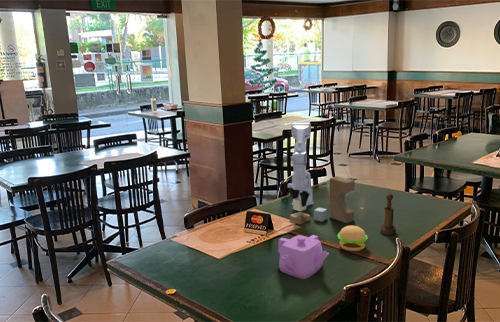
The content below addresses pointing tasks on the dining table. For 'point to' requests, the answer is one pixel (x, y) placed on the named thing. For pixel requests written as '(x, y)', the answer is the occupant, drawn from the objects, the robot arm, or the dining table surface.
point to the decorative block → (340, 199)
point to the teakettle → (301, 256)
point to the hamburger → (352, 238)
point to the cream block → (298, 204)
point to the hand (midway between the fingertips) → (299, 204)
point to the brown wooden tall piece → (388, 218)
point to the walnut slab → (300, 217)
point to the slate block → (320, 214)
